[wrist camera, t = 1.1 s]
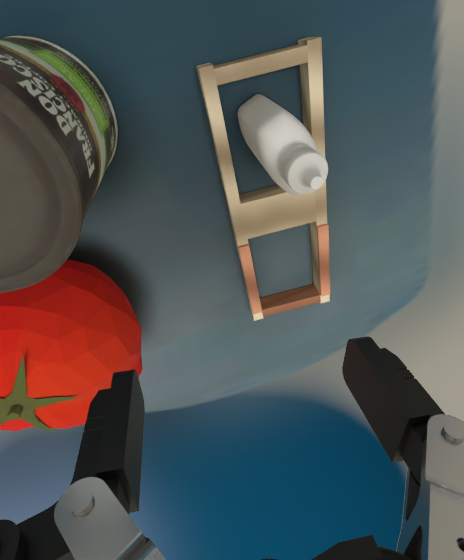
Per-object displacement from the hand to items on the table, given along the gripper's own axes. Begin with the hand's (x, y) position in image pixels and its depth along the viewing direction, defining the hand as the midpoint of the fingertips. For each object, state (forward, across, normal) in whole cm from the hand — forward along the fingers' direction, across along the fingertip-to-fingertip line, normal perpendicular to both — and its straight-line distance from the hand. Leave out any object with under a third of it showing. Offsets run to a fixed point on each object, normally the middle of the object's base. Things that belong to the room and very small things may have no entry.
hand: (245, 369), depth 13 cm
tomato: (+22, +13, +9) cm, 27 cm away
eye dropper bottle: (+20, -6, -5) cm, 22 cm away
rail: (+21, -7, +1) cm, 22 cm away
